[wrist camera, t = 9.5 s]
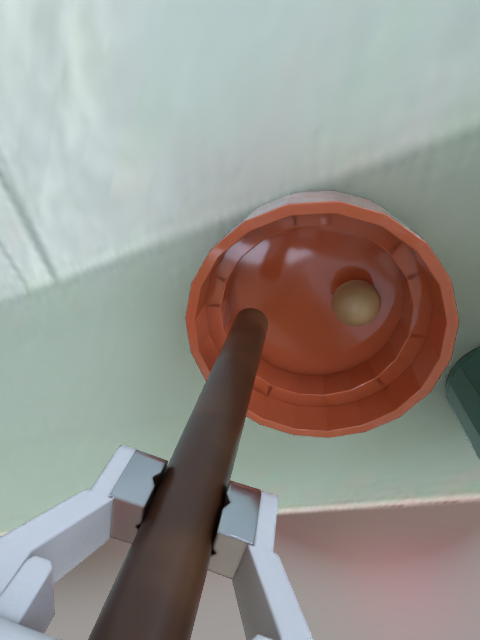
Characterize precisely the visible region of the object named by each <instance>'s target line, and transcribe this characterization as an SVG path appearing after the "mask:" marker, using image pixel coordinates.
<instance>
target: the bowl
mask: <svg viewBox="0 0 480 640" xmlns="http://www.w3.org/2000/svg"><path fill="white" fill-rule="evenodd" d="M351 280H363V281H366V282H368V283H370V284H371V285H373V286H374V287H375V288H376V289H377V291H378V293H379V295H380V299H381V307H380V310H379V313H378V315H377V316H376V317H375V319H374V320H372V321H371V322H370V323H368V324H366V325H363V326H349V325H346V324H344V323H342V322H341V321H340V320H339V319H338V318H337V317H336V316H335V314H334V312H333V309H332V298H333V295H334V293H335V291H336V290H337V288H338V287H339V286H340V285H342V284H343V283H345V282H347V281H351ZM246 308H255V309H258V310H260V311H261V312H262V313H264V315H265V316H266V317H267V320H268V330H267V334H266V338H265V342H264V346H263V350H262V354H261V358H260V362H259V366H258V370H257V374H256V378H255V382H254V386H253V390H252V394H251V398H250V402H249V406H248V410H247V414H246V416H247V417H248V418H250V419H252V420H253V421H255V422H256V423H258V424H260V425H263V426H267V427H270V428H273V429H276V430H279V431H282V432H285V433H289V434H293V435H301V436H313V437H326V438H328V437H336V436H342V435H349V434H355V433H361V432H366V431H369V430H371V429H373V428H376V427H378V426H380V425H383V424H385V423H387V422H390V421H392V420H394V419H397V418H399V417H400V416H402V415H403V414H404V413H405V412H407V411H408V410H409V409H410V408H412V407H413V406H414V405H415V404H417V403H418V402H419V401H420V400H421V399H423V398H424V397H425V396H426V395H428V394H429V392H431V390H432V388H433V387H434V385H435V384H436V382H437V381H438V379H439V378H440V376H441V374H442V373H443V371H444V370H445V368H446V367H447V365H448V364H449V362H450V360H451V357H452V353H453V348H454V343H455V338H456V334H457V329H458V324H459V317H458V312H457V307H456V302H455V296H454V291H453V286H452V281H451V278H450V277H449V275H448V274H447V272H446V271H445V269H444V268H443V266H442V265H441V263H440V262H439V260H438V259H437V257H436V256H435V254H434V253H433V251H432V250H431V248H430V247H429V245H428V243H427V242H425V240H423V239H422V238H421V237H420V236H419V235H417V234H416V233H415V232H414V231H413V230H411V229H410V228H409V227H408V226H407V225H406V224H404V223H403V222H402V221H400V220H399V219H397V218H396V217H395V216H393V215H392V214H390V213H389V212H388V211H386V210H385V209H383V208H382V207H380V206H379V205H378V204H376V203H375V202H373V201H371V200H368V199H364V198H360V197H357V196H353V195H349V194H346V193H342V192H338V191H335V190H333V191H332V190H328V191H313V192H297V193H291V194H289V195H286V196H284V197H281V198H279V199H276V200H274V201H271V202H269V203H267V204H264V205H262V206H259V207H258V208H256V209H255V210H253V211H252V212H251V213H250V214H249V215H248V216H246V217H245V218H244V219H243V220H242V221H241V222H239V223H238V224H237V225H236V226H235V227H234V228H232V229H231V230H230V231H229V232H228V233H227V234H226V235H225V236H224V237H223V238H222V239H221V240H220V241H219V242H218V243H217V244H216V245H215V246H214V247H213V248H212V249H211V250H210V252H209V254H208V255H207V257H206V259H205V261H204V262H203V264H202V266H201V267H200V269H199V271H198V273H197V274H196V276H195V278H194V280H193V281H192V284H191V289H190V295H189V300H188V306H187V312H186V317H185V318H186V325H187V331H188V337H189V343H190V350H191V353H192V355H193V357H194V359H195V361H196V363H197V365H198V367H199V369H200V371H201V373H202V375H203V376H204V378H205V380H206V381H207V379H208V376H209V374H210V372H211V370H212V368H213V366H214V363H215V361H216V359H217V357H218V355H219V352H220V350H221V348H222V346H223V344H224V341H225V339H226V337H227V335H228V333H229V331H230V328H231V326H232V324H233V322H234V320H235V317H236V315H237V314H238V313H239V312H240V311H241V310H243V309H246Z"/></svg>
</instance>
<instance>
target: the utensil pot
mask: <svg viewBox="0 0 480 640" xmlns="http://www.w3.org/2000/svg"><path fill="white" fill-rule="evenodd" d="M446 397H447V399H448V402H449V404H450V406H451V408H452V410H453V412H454V414H455V416H456V418H457V420H458V422H459V424H460V426H461V427H462V429H463V431H464V433H465V435H466V437H467V439H468V441H469V443H470V445H471V447H472V448H473V450H474V452H475V454H476V456H477V458H478V460H479V462H480V347H479V348H477V349H475V350H473V351H471V352H470V353H468V354H467V355H465V356H464V357H463V358H462V359H460V360H459V361H458V362H457V364H456V365H455V366H454V367H453V369H452V370H451V372H450V374H449V376H448V379H447V382H446Z"/></svg>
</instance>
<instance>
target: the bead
mask: <svg viewBox="0 0 480 640" xmlns="http://www.w3.org/2000/svg"><path fill="white" fill-rule="evenodd" d="M380 307H381V299H380V295H379V293H378V291H377V289H376V288H375V287H374V286H373V285H371V284H370V283H368V282H366V281H363V280H351V281H347V282H345V283H343V284H342V285H340V286H339V287H338V288H337V290H336V291H335V293H334V295H333V298H332V309H333V312H334V314H335V316H336V317H337V318H338V319H339V320H340V321H341V322H342V323H344V324H346V325H349V326H363V325H366V324H368V323H370V322H371V321H372V320H374V319H375V317H376V316H377V315H378V313H379V310H380Z"/></svg>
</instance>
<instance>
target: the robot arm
mask: <svg viewBox="0 0 480 640" xmlns="http://www.w3.org/2000/svg"><path fill="white" fill-rule="evenodd" d="M167 464H168V461H167V460H164V459H161V458H159V457H156V456H153V455H150V454H147V453H144V452H142V451H139V450H136V449H133V448H130V447H127V446H124V445H121V446H120V447H119V448H118V449H117V450H116V452H115V453H114V455H113V456H112V458H111V459H110V461H109V462H108V464H107V465H106V467H105V468H104V470H103V471H102V473H101V475H100V476H99V478H98V479H97V481H96V482H95V484H94V485H93V487H92V488H91V490H87V489H85V490H83V491H81V492H79V493H78V494H76V495H74V496H72V497H71V498H69V499H67V500H65V501H63V502H62V503H60V504H58V505H56V506H55V507H53V508H51V509H49V510H48V511H46V512H44V513H42V514H40V515H39V516H37V517H35V518H33V519H32V520H30V521H28V522H26V523H25V524H23V525H21V526H19V527H18V528H16V529H14V530H12V531H10V532H9V533H7V534H5V535H3V536H2V537H0V640H61V639H58V638H55V637H52V636H49V635H47V634H44V633H45V631H46V630H47V628H48V626H49V624H50V622H51V620H52V618H53V617H54V615H55V611H54V591H53V584H54V583H56V582H57V581H58V580H59V579H61V578H62V577H63V576H64V575H66V574H67V573H68V572H69V571H71V570H72V569H73V568H74V567H76V566H77V565H78V564H79V563H81V562H82V561H83V560H84V559H86V558H87V557H88V556H89V555H90V554H92V553H93V552H94V551H95V550H96V549H98V548H99V547H100V546H102V545H103V544H104V543H105V542H106V541H108V540H109V538H110V537H111V538H114V539H118V540H121V541H124V542H127V543H131V544H132V543H133V540H134V538H135V536H136V534H137V532H138V529H139V527H140V525H141V523H142V521H143V519H144V517H145V515H146V513H147V511H148V508H149V506H150V504H151V502H152V499H153V497H154V495H155V492H156V490H157V488H158V486H159V484H160V482H161V480H162V478H163V475H164V473H165V471H166V469H167ZM277 507H278V497H277V496H276V495H273V494H270V493H267V492H263V491H261V490H259V489H256V488H253V487H249V486H246V485H243V484H240V483H236V482H233V481H229V484H228V487H227V490H226V494H225V498H224V502H223V505H222V513H221V516H220V519H219V522H218V525H217V529H216V533H215V537H214V542H213V546H212V547H213V550H212V554H211V558H210V562H209V566H208V570H209V571H212V572H214V573H217V574H219V575H222V576H225V577H227V578H230V579H233V586H234V590H235V594H236V598H237V602H238V606H239V610H240V615H241V619H242V623H243V626H244V631H245V635H246V639H247V640H313V637H312V635H311V633H310V630H309V628H308V625H307V623H306V620H305V618H304V616H303V613H302V611H301V608H300V606H299V604H298V601H297V599H296V596H295V594H294V592H293V589H292V587H291V584H290V582H289V580H288V577H287V575H286V572H285V570H284V567H283V565H282V563H281V560H280V558H279V555H278V554H275V553H273V548H274V539H275V528H276V518H277Z"/></svg>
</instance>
